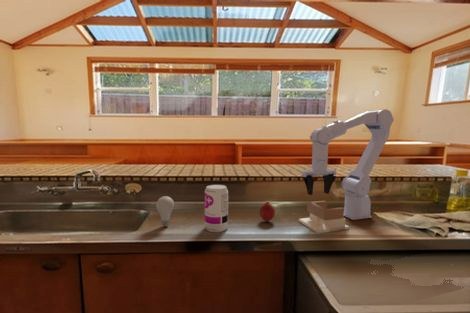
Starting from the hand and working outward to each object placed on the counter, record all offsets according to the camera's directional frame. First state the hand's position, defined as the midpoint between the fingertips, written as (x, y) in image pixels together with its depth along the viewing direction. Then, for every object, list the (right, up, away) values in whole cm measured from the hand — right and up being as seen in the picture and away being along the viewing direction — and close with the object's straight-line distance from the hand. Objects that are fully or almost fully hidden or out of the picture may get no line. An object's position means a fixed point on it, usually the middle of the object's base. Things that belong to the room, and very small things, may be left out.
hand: (318, 193), depth 101 cm
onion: (-21, -10, -3) cm, 23 cm away
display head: (0, -11, -6) cm, 12 cm away
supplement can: (-39, -11, -10) cm, 42 cm away
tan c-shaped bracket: (0, -7, -7) cm, 9 cm away
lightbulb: (-58, -11, -9) cm, 59 cm away
